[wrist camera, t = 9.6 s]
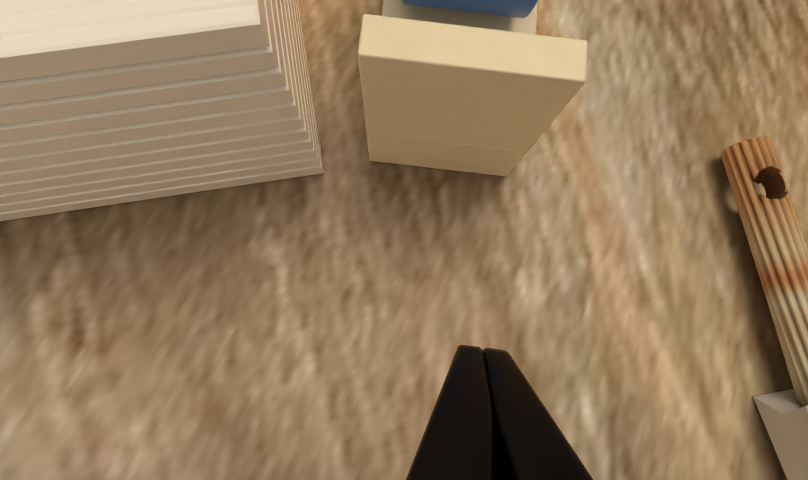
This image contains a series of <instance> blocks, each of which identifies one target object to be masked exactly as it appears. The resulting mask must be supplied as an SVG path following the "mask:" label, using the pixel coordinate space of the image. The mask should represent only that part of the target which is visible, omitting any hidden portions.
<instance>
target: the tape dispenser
mask: <svg viewBox="0 0 808 480" xmlns="http://www.w3.org/2000/svg"><path fill="white" fill-rule="evenodd" d="M537 9H538V0H383V5H382V13H381V16H377V15H369V14H364V15H363V17H362V24H361V32H360V39H359V47H358V62H359V71H360V80H361V89H362V98H363V107H364V117H365V126H366V134H367V143H368V152H369V160H370V161H376V162H385V163H393V164H402V165H411V166H419V167H428V168H437V169H445V170H454V171H463V172H471V173H480V174H489V175H498V176H508V174H509V173H510V172H511V171H512V170H513V168H514V167H515V166H516V165H517V163H518V162H519V161H520V160H521V159H522V157H523V156H524V155H525V154H526V153H527V151H528V150H529V149H530V148H531V147H532V146H533V144H534V143H535V142H536V141H537V140H538V138H539V137H540V136H541V135H542V134H543V132H544V131H545V130H546V129H547V128H548V126H549V125H550V124H551V123H552V122H553V120H554V119H555V118H556V117H557V115H558V114H559V113H560V112H561V111H562V109H563V108H564V107H565V106H566V105H567V103H568V102H569V101H570V100H571V99H572V97H573V96H574V95H575V94H576V93H577V91H578V90H579V89H580V88H581V87H582V85H583V84H584V83H585V81H586V68H587V48H588V42H587V41H586V40H578V39H569V38H561V37H553V36H544V35H536V23H537Z"/></svg>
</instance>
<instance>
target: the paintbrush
mask: <svg viewBox="0 0 808 480" xmlns="http://www.w3.org/2000/svg"><path fill="white" fill-rule="evenodd" d="M721 157H722V160H723V163H724V167H725V170H726V173H727V176H728V179H729V182H730V186H731V189H732V192H733V195H734V198H735V201H736V204H737V208H738V211H739V214H740V217H741V220H742V223H743V226H744V230H745V233H746V236H747V239H748V242H749V245H750V249H751V252H752V255H753V258H754V261H755V264H756V267H757V271H758V274H759V277H760V280H761V283H762V286H763V289H764V293H765V296H766V299H767V302H768V305H769V308H770V312H771V315H772V318H773V322H774V325H775V328H776V331H777V335H778V338H779V341H780V345H781V348H782V351H783V354H784V358H785V361H786V364H787V368H788V371H789V374H790V378H791V381H792V384H793V387H794V389H791V390H785V391H780V392H774V393H769V394H763V395H758V396H753V398H754V401H755V403H756V405H757V408H758V410H759V413H760V415H761V417H762V420H763V422H764V425H765V427H766V429H767V432H768V434H769V437H770V439H771V441H772V444H773V446H774V449H775V451H776V453H777V456H778V458H779V461H780V463H781V465H782V468H783V470H784V473H785V475H786V477H787V480H808V250H807V247H806V244H805V241H804V238H803V235H802V232H801V229H800V226H799V223H798V220H797V217H796V214H795V211H794V207H793V204H792V201H791V198H790V195H789V192H788V189H787V186H786V182H785V179H784V176H783V173H782V170H781V167H780V164H779V160H778V157H777V154H776V151H775V148H774V145H773V142H772V140H771V138H770V137H767V136H766V137H758V138H752V139H749V140H746V141H741V142H740V143H736V144H733V145H732V146H730V147H726V149H724V150H722V153H721ZM752 181H754V182H756V183H758V184H759V183H762V185H763V186H764V188H765V191H766V197H765V196H764V195H761V194H760V195H759V196H758V194H757V193H756V192H755V191H754V188H753V184H752Z"/></svg>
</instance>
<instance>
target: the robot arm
mask: <svg viewBox="0 0 808 480" xmlns="http://www.w3.org/2000/svg"><path fill="white" fill-rule="evenodd" d="M406 480H593V479H592V477H591V476H590V474H589V473H588V471H587V470H586V468H585V467H584V465H583V464H582V462H581V461H580V459H579V458H578V456H577V455H576V453H575V452H574V450H573V449H572V447H571V446H570V444H569V443H568V441H567V440H566V438H565V437H564V435H563V434H562V432H561V431H560V429H559V428H558V426H557V425H556V423H555V422H554V420H553V419H552V417H551V416H550V414H549V413H548V411H547V410H546V408H545V407H544V405H543V404H542V402H541V401H540V399H539V398H538V396H537V395H536V393H535V392H534V390H533V389H532V387H531V386H530V384H529V383H528V381H527V380H526V378H525V377H524V375H523V374H522V372H521V371H520V369H519V368H518V366H517V365H516V363H515V362H514V360H513V359H512V357H511V356H510V354H509V353H508V352H507V351H505V350H500V349H492V348H485V349H483V350H482V349H481V348H480V347H475V346H467V345H460V346H459V347H458V348H457V351H456V353H455V356H454V358H453V361H452V364H451V366H450V369H449V371H448V374H447V376H446V379H445V381H444V384H443V387H442V389H441V392H440V394H439V397H438V399H437V402H436V404H435V407H434V410H433V412H432V415H431V417H430V420H429V422H428V425H427V427H426V430H425V433H424V435H423V438H422V440H421V443H420V445H419V448H418V450H417V453H416V456H415V458H414V461H413V463H412V466H411V468H410V471H409V473H408V476H407V479H406Z"/></svg>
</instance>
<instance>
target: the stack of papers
mask: <svg viewBox="0 0 808 480" xmlns="http://www.w3.org/2000/svg"><path fill="white" fill-rule="evenodd" d="M321 173H324V167H323V160H322V153H321V147H320V140H319V133H318V126H317V119H316V112H315V105H314V98H313V92H312V85H311V78H310V71H309V64H308V57H307V50H306V43H305V37H304V30H303V23H302V16H301V9H300V2H299V0H0V221H6V220H12V219H19V218H26V217H32V216H39V215H46V214H53V213H59V212H66V211H73V210H79V209H86V208H93V207H100V206H106V205H113V204H120V203H126V202H133V201H140V200H147V199H153V198H160V197H167V196H173V195H180V194H187V193H194V192H200V191H207V190H214V189H220V188H227V187H234V186H241V185H247V184H254V183H261V182H268V181H274V180H281V179H288V178H294V177H301V176H308V175H315V174H321Z"/></svg>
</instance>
